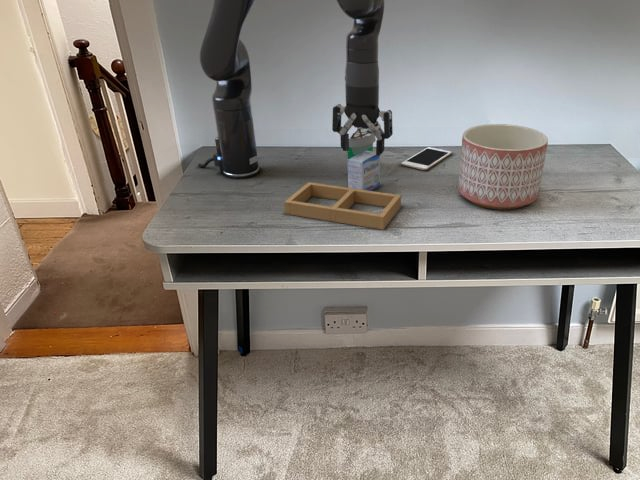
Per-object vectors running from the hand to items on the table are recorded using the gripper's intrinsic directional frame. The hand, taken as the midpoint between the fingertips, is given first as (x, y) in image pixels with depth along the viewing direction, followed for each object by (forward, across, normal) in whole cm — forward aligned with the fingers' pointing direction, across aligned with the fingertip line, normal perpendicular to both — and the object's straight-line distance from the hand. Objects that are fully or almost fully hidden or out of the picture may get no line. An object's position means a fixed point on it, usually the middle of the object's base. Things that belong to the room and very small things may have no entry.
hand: (362, 152), depth 132 cm
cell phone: (+9, -9, -26) cm, 29 cm away
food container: (+10, +5, -13) cm, 17 cm away
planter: (+9, -32, -7) cm, 34 cm away
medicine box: (+10, 0, 0) cm, 10 cm away
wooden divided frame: (+10, 0, +13) cm, 16 cm away
